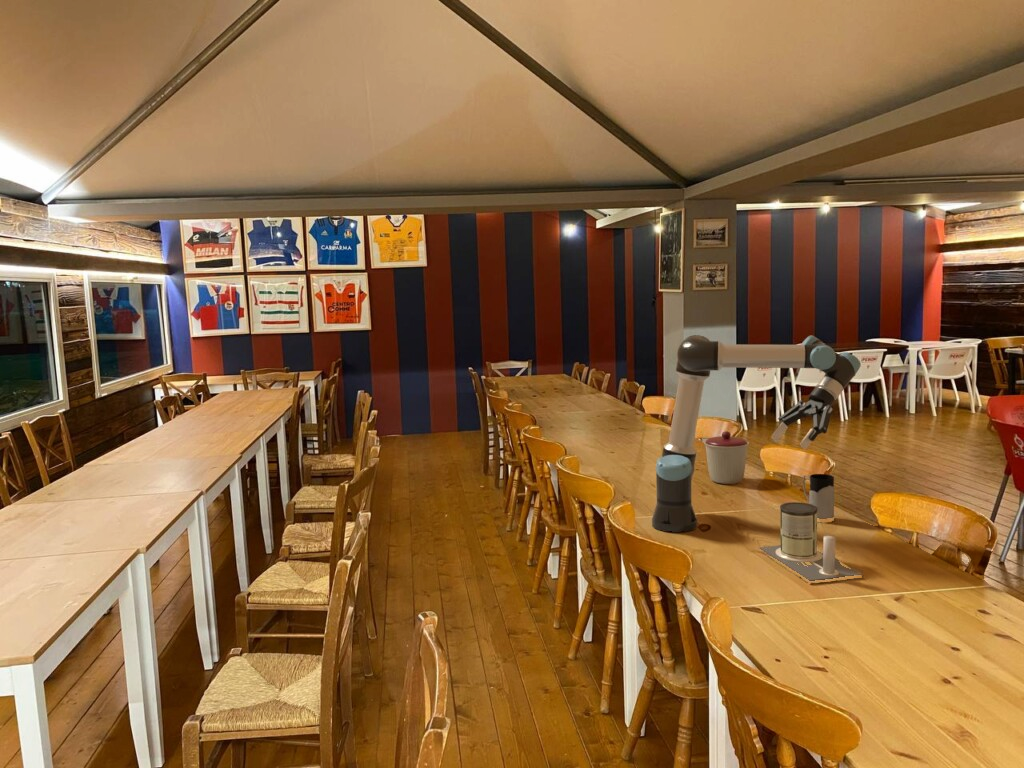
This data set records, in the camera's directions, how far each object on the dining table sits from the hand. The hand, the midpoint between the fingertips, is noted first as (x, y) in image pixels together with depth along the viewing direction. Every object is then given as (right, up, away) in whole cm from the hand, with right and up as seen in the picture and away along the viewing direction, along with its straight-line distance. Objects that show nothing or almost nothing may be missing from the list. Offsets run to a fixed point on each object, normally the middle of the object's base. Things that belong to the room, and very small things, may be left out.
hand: (787, 443), depth 240 cm
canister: (0, -22, +69) cm, 72 cm away
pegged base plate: (-4, -33, -26) cm, 42 cm away
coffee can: (-4, -31, -21) cm, 38 cm away
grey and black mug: (+16, -27, +17) cm, 36 cm away
